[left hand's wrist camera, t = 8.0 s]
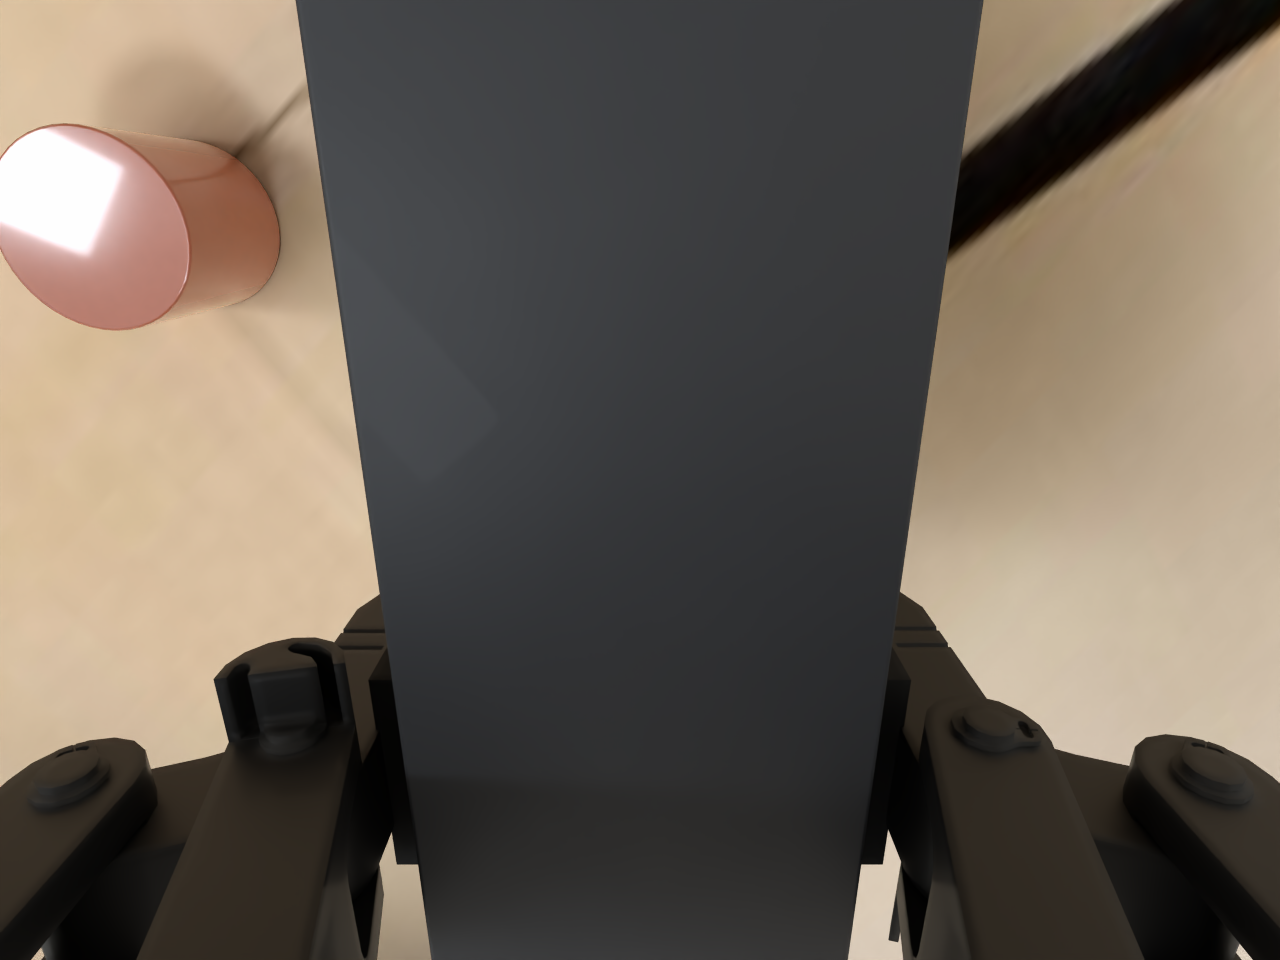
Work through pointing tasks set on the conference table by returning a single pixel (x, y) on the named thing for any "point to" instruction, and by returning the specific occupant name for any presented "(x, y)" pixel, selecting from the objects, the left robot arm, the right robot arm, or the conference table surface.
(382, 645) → the left robot arm
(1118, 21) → the conference table surface
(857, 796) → the bar
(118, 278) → the glossy pink cylinder
